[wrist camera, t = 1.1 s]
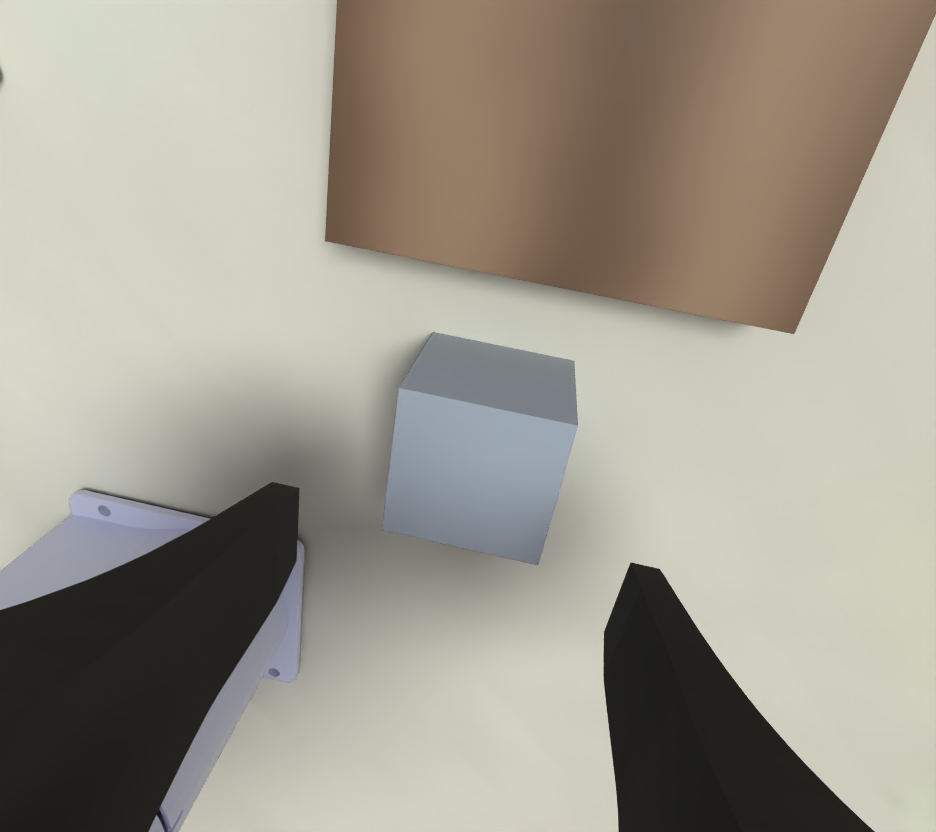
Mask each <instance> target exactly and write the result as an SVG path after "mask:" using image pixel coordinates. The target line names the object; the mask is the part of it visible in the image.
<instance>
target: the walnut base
mask: <svg viewBox="0 0 936 832" xmlns="http://www.w3.org/2000/svg"><path fill="white" fill-rule="evenodd" d="M935 14H936V0H337V14H336V34H335V54H334V74H333V94H332V114H331V135H330V155H329V175H328V195H327V215H326V235H325V241H328V242H333V243H338V244H343V245H348V246H353V247H358V248H363V249H368V250H373V251H378V252H383V253H388V254H393V255H398V256H403V257H408V258H413V259H418V260H423V261H428V262H433V263H438V264H444V265H449V266H454V267H459V268H464V269H469V270H474V271H479V272H484V273H489V274H494V275H499V276H504V277H509V278H514V279H519V280H524V281H529V282H534V283H539V284H544V285H549V286H554V287H559V288H565V289H570V290H575V291H580V292H585V293H590V294H595V295H600V296H605V297H610V298H615V299H620V300H625V301H630V302H635V303H640V304H645V305H650V306H655V307H660V308H665V309H670V310H675V311H680V312H686V313H691V314H696V315H701V316H706V317H711V318H716V319H721V320H726V321H731V322H736V323H741V324H746V325H751V326H756V327H761V328H766V329H771V330H776V331H781V332H786V333H791V334H794V333H795V331H796V329H797V326H798V324H799V322H800V320H801V317H802V315H803V313H804V311H805V308H806V306H807V304H808V302H809V299H810V297H811V295H812V292H813V290H814V288H815V286H816V283H817V281H818V279H819V277H820V274H821V272H822V270H823V268H824V265H825V263H826V261H827V259H828V256H829V254H830V252H831V250H832V247H833V245H834V243H835V240H836V238H837V236H838V234H839V231H840V229H841V227H842V225H843V222H844V220H845V218H846V216H847V213H848V211H849V209H850V207H851V204H852V202H853V200H854V198H855V195H856V193H857V191H858V188H859V186H860V184H861V182H862V179H863V177H864V175H865V173H866V170H867V168H868V166H869V164H870V161H871V159H872V157H873V155H874V152H875V150H876V148H877V146H878V143H879V141H880V139H881V136H882V134H883V132H884V130H885V127H886V125H887V123H888V121H889V118H890V116H891V114H892V112H893V109H894V107H895V105H896V103H897V100H898V98H899V96H900V94H901V91H902V89H903V87H904V84H905V82H906V80H907V78H908V75H909V73H910V71H911V69H912V66H913V64H914V62H915V60H916V57H917V55H918V53H919V51H920V48H921V46H922V44H923V42H924V39H925V37H926V35H927V32H928V30H929V28H930V26H931V23H932V21H933V19H934V17H935Z"/></svg>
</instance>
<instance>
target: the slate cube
mask: <svg viewBox="0 0 936 832" xmlns="http://www.w3.org/2000/svg"><path fill="white" fill-rule="evenodd" d="M577 427H578V419H577V401H576V384H575V366H574V361H572V360H567V359H562V358H558V357H553V356H548V355H543V354H538V353H533V352H528V351H523V350H518V349H514V348H509V347H504V346H499V345H494V344H489V343H484V342H479V341H475V340H470V339H465V338H460V337H455V336H450V335H445V334H440V333H436V332H433V333H432V335H431V337H430V338H429V340H428V342H427V343H426V345H425V346H424V348H423V350H422V351H421V353H420V354H419V356H418V358H417V359H416V361H415V363H414V364H413V366H412V367H411V369H410V371H409V372H408V374H407V376H406V377H405V379H404V380H403V382H402V384H401V385H400V387H399V391H398V399H397V408H396V416H395V424H394V433H393V441H392V450H391V458H390V466H389V475H388V483H387V492H386V500H385V508H384V517H383V525H382V530H383V531H388V532H392V533H397V534H401V535H406V536H410V537H415V538H419V539H424V540H428V541H432V542H437V543H441V544H446V545H450V546H455V547H459V548H464V549H468V550H473V551H477V552H481V553H486V554H490V555H495V556H499V557H504V558H508V559H513V560H517V561H522V562H526V563H530V564H535V565H538V564H539V560H540V557H541V553H542V550H543V546H544V543H545V539H546V536H547V532H548V529H549V525H550V522H551V518H552V515H553V511H554V508H555V504H556V501H557V497H558V494H559V490H560V487H561V483H562V480H563V476H564V473H565V469H566V466H567V462H568V459H569V455H570V452H571V448H572V445H573V441H574V438H575V434H576V431H577Z"/></svg>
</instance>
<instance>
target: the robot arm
mask: <svg viewBox="0 0 936 832" xmlns="http://www.w3.org/2000/svg"><path fill="white" fill-rule="evenodd" d="M69 504H70V510H71V515H70V516H69V517H68V518H66V519H65V520H64V521H63V522H61V523H60V524H59V525H58V526H56V527H55V528H54V529H53V530H51V531H50V532H49V533H48V534H46V535H45V536H44V537H43V538H41V539H40V540H39V541H37V542H36V543H35V544H34V545H32V546H31V547H30V548H29V549H27V550H26V551H25V552H24V553H22V554H21V555H20V556H19V557H17V558H16V559H15V560H14V561H12V562H11V563H10V564H8V565H7V566H6V567H5V568H3V569H2V570H1V571H0V832H179V830H180V828H181V826H182V824H183V823H184V821H185V819H186V817H187V815H188V813H189V811H190V810H191V808H192V806H193V804H194V802H195V800H196V799H197V797H198V795H199V793H200V791H201V789H202V787H203V786H204V784H205V782H206V780H207V778H208V776H209V774H210V773H211V771H212V769H213V767H214V765H215V763H216V762H217V760H218V758H219V756H220V754H221V752H222V750H223V749H224V747H225V745H226V743H227V741H228V739H229V738H230V736H231V734H232V732H233V730H234V728H235V726H236V725H237V723H238V721H239V719H240V717H241V715H242V713H243V712H244V710H245V708H246V706H247V704H248V702H249V701H250V699H251V697H252V695H253V693H254V691H255V689H256V688H257V686H258V684H259V682H260V680H261V678H262V677H266V678H270V679H274V680H279V681H283V682H293V681H294V680H295V679H296V677H297V675H298V673H299V660H300V637H301V615H302V593H303V571H304V546H303V544H302V543H301V542H300V541H299V540H298V512H299V488H296V487H292V486H287V485H283V484H278V483H274V482H272V483H270V484H268V485H267V486H265V487H263V488H261V489H260V490H258V491H256V492H255V493H253V494H251V495H250V496H248V497H246V498H245V499H243V500H241V501H240V502H238V503H237V504H235V505H233V506H232V507H230V508H228V509H227V510H225V511H223V512H222V513H220V514H218V515H217V516H215V517H213V518H211V519H210V518H205V517H201V516H196V515H192V514H188V513H183V512H179V511H174V510H170V509H166V508H161V507H157V506H152V505H148V504H144V503H139V502H135V501H130V500H126V499H122V498H117V497H113V496H108V495H104V494H100V493H95V492H91V491H86V490H79V491H77V492H75V493H74V494H73V495H71V497H70V498H69ZM604 686H605V696H606V705H607V714H608V722H609V731H610V739H611V748H612V756H613V765H614V773H615V782H616V791H617V804H618V824H619V832H874V831H873V830H872V829H871V828H870V827H869V826H868V825H867V824H865V823H864V822H863V821H862V820H861V819H860V818H859V817H858V816H857V815H856V814H855V813H854V812H853V811H852V810H851V809H850V808H849V807H848V806H847V805H845V804H844V803H843V802H842V801H841V800H840V799H839V798H838V797H837V796H836V795H835V794H834V793H833V792H832V791H831V790H830V789H829V788H828V787H827V786H826V785H825V784H824V783H823V782H822V781H821V780H820V778H819V777H818V776H817V775H816V774H815V773H814V772H813V771H812V770H811V769H810V768H809V767H808V766H807V765H806V764H805V763H804V762H803V761H802V760H801V759H800V758H799V757H798V756H797V755H796V753H795V752H794V751H793V750H792V749H791V748H790V747H789V746H788V745H787V744H786V742H785V741H784V740H783V739H782V738H781V737H780V735H779V734H778V733H777V732H776V731H775V730H774V729H773V727H772V726H771V725H770V724H769V723H768V722H767V721H766V719H765V718H764V717H763V716H762V715H761V714H760V712H759V711H758V710H757V709H756V707H755V706H754V705H753V704H752V703H751V701H750V700H749V699H748V697H747V696H746V695H745V694H744V692H743V691H742V690H741V688H740V687H739V686H738V684H737V683H736V682H735V680H734V679H733V678H732V677H731V675H730V674H729V673H728V671H727V670H726V669H725V667H724V666H723V664H722V663H721V662H720V660H719V659H718V657H717V656H716V655H715V653H714V652H713V650H712V649H711V647H710V646H709V644H708V643H707V642H706V640H705V639H704V637H703V636H702V634H701V633H700V631H699V630H698V628H697V627H696V625H695V624H694V622H693V621H692V619H691V617H690V616H689V614H688V613H687V611H686V610H685V608H684V606H683V605H682V603H681V602H680V600H679V599H678V597H677V595H676V594H675V592H674V591H673V589H672V587H671V586H670V584H669V583H668V581H667V580H666V578H665V576H664V575H663V573H662V572H661V570H660V569H657V568H653V567H648V566H644V565H639V564H635V563H630V566H629V568H628V571H627V573H626V576H625V579H624V581H623V584H622V586H621V589H620V592H619V594H618V597H617V600H616V602H615V605H614V607H613V610H612V613H611V615H610V618H609V620H608V623H607V626H606V628H605V631H604Z"/></svg>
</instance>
